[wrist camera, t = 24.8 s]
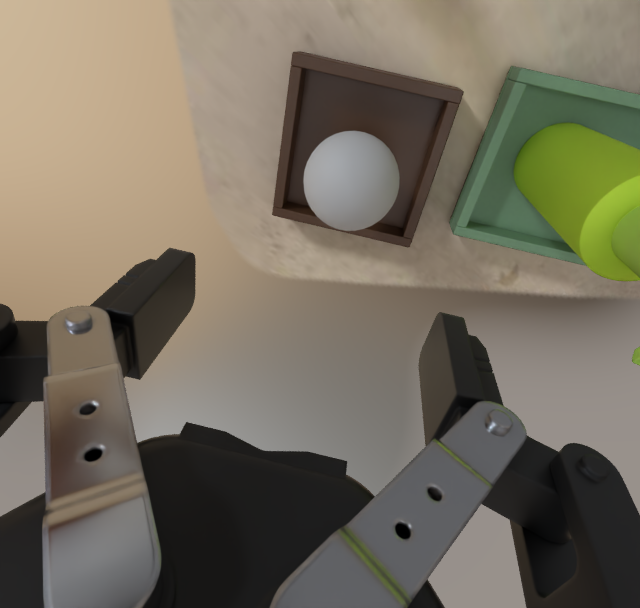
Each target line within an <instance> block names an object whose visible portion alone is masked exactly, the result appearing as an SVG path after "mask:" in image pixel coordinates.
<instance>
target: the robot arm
mask: <svg viewBox="0 0 640 608" xmlns="http://www.w3.org/2000/svg"><path fill="white" fill-rule="evenodd" d="M194 299H195V255H194V254H193V253H190V252H186V251H182V250H177V249H173V248H169V249H167V250H166V251H165V252H164V253H163V254H162V255H161V256H160V257H159V258H158V259H157V260H153V259H149V260H146V261H144V262H142V263H139V264H137V265H135V266H134V267H133V268H132V269H131V270H129V271H128V272H127V273H126V276H125V275H124V276H123V277H122V278H120V279H119V280H118V283H115V284H114V285H113V286H112V287H111V288H109V289H108V290H107V291H106V292H105V293H104V294H103V295H102V296H100V297H99V298H98V299H97V300H96V301H95V302H94V303H93V304H91V305H90V306H76V307H70V308H67V309H64V310H62V311H60V312H58V313H56V314H54V315H53V316H52V317H51V318H50V319H49V321H15V318H14V315H13V312H12V310H11V309H10V308H9V307H8V306H6V305H3V304H0V437H1V436H2V435H3V434H4V433H5V431H6V430H7V429H8V428H9V427H10V426H11V425H12V424H13V423H14V421H15V420H16V419H17V418H18V417H19V416H20V415H21V413H22V412H23V411H24V410H25V409H26V408H27V407H28V405H29V404H30V403H31V402H32V401H33V402H34V401H44V436H45V437H44V440H45V487H46V492H45V493H43V494H41V495H39V496H37V497H36V498H34V499H32V500H30V501H28V502H26V503H25V504H23V505H21V506H19V507H17V508H15V509H13V510H12V511H10V512H8V513H6V514H4V515H2V516H1V517H0V608H445V607H444V606H443V604H442V603H441V601H440V599H439V597H438V596H437V594H436V592H435V591H434V589H433V588H432V586H431V584H430V583H429V581H428V577H429V576H430V575H431V573H432V572H433V571H434V569H435V568H436V566H437V565H438V563H439V562H440V561H441V559H442V558H443V556H444V555H445V554H446V552H447V551H448V550H449V548H450V546H451V545H452V544H453V543H454V541H455V540H456V538H457V537H458V535H459V534H460V533H461V531H462V530H463V529H464V527H465V526H466V524H467V523H468V521H469V520H470V519H471V517H472V516H473V515H474V513H475V512H476V510H477V509H478V507H479V506H480V505H481V504H483V505H484V506H486V507H488V508H490V509H492V510H493V511H495V512H497V513H499V514H501V515H502V516H504V517H506V518H508V519H510V524H511V529H512V534H513V539H514V545H515V550H516V555H517V560H518V566H519V571H520V576H521V581H522V586H523V592H524V597H525V602H526V607H527V608H640V515H639V513H638V511H637V508H636V506H635V504H634V502H633V500H632V498H631V496H630V494H629V491H628V489H627V487H626V485H625V483H624V481H623V479H622V477H621V475H620V473H619V472H618V470H617V469H616V468H615V466H614V465H613V464H612V463H611V462H610V461H609V460H608V459H607V458H606V457H604V456H603V455H602V454H600V453H599V452H597V451H596V450H594V449H592V448H590V447H588V446H585V445H582V444H577V443H570V444H567V445H565V446H564V447H563V448H562V449H561V450H560V451H559V452H558V451H556V450H554V449H552V448H550V447H548V446H546V445H544V444H542V443H540V442H538V441H536V440H534V439H532V438H530V437H529V436H527V435H526V434H527V433H526V429H525V427H524V425H523V423H522V422H521V420H520V419H519V418H518V417H517V416H516V415H515V414H514V413H513V412H512V411H511V410H509V409H508V408H506V407H504V406H503V403H502V399H501V396H500V393H499V390H498V386H497V383H496V380H495V376H494V373H492V371H493V370H492V367H491V364H490V363H489V361H490V360H489V357H488V354H487V351H486V348H485V347H484V346H483V344H482V343H481V342H480V341H479V339H478V338H477V337H476V336H471V335H468V332H467V328H466V324H465V320H464V318H462V317H458V316H454V315H450V314H445V313H441V312H440V313H438V314H437V316H436V318H435V320H434V322H433V325H432V327H431V329H430V331H429V334H428V336H427V338H426V341H425V343H424V345H423V347H422V350H421V354H420V358H419V376H420V388H421V398H422V410H423V421H424V433H425V444H426V447H425V448H424V449H423V450H422V451H421V452H420V453H419V454H418V455H417V456H416V457H415V458H414V459H413V460H412V461H411V462H410V463H409V464H408V465H407V466H406V467H405V468H404V469H403V470H402V471H401V472H400V473H399V474H398V475H397V476H396V477H395V478H394V479H393V480H392V481H391V482H389V484H388V485H386V486H385V488H383V489H382V490H381V491H380V493H379V494H377V495H376V496H374V495H373V494H372V493H371V492H370V491H369V490H368V489H367V488H365V487H364V486H363V485H362V484H361V483H359V482H358V481H356V480H355V479H353V478H352V477H350V476H348V475H346V468H347V461H344V460H340V459H336V458H332V457H328V456H323V455H319V454H315V453H311V452H296V451H295V452H294V451H292V452H291V451H287V452H286V451H263V450H260V449H258V448H256V447H254V446H252V445H250V444H249V443H246V442H244V441H243V440H241V439H238V438H237V437H235V436H233V435H231V434H229V433H227V432H225V431H221V430H216V429H213V428H208V427H204V426H200V425H196V424H192V423H188V422H186V424H185V426H184V427H183V429H182V431H181V433H180V434H174V435H164V436H159V437H154V438H150V439H147V440H144V441H141V442H139V443H137V440H136V436H135V431H134V426H133V422H132V417H131V412H130V408H129V403H128V398H127V393H126V388H125V384H124V377H125V376H127V377H131V378H135V379H139V380H140V379H141V378H142V376H143V375H144V373H145V372H146V371H147V369H148V368H149V367H150V365H151V364H152V363H153V361H154V360H155V358H156V357H157V356H158V354H159V353H160V352H161V350H162V349H163V347H164V346H165V345H166V343H167V342H168V341H169V339H170V338H171V337H172V335H173V334H174V332H175V331H176V329H177V328H178V327H179V326H180V324H181V323H182V321H183V320H184V319H185V317H186V316H187V315H188V313H189V312H190V310H191V308H192V306H193V303H194Z"/></svg>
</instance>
